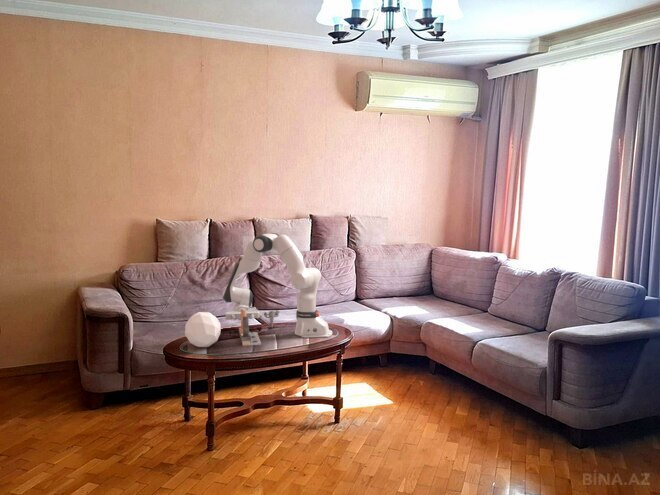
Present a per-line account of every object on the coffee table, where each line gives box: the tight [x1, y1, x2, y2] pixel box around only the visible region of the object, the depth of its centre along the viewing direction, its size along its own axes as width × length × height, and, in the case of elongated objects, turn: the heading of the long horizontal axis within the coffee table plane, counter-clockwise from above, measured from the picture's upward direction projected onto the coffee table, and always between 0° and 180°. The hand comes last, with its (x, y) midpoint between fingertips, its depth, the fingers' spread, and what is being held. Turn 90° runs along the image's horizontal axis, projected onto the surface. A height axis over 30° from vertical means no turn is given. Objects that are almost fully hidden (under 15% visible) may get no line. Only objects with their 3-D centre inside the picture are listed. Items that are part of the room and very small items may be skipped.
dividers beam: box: [239, 316, 251, 347], centre depth 333 cm, size 23×5×16 cm, turn 13°
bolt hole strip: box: [249, 331, 262, 346], centre depth 335 cm, size 23×6×1 cm, turn 13°
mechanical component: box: [263, 309, 280, 328], centre depth 363 cm, size 3×10×10 cm, turn 127°
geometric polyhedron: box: [184, 311, 222, 348], centre depth 321 cm, size 19×20×20 cm
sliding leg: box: [238, 310, 246, 334], centre depth 340 cm, size 5×5×13 cm
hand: (243, 318), depth 345 cm, fingers open, 8 cm apart
